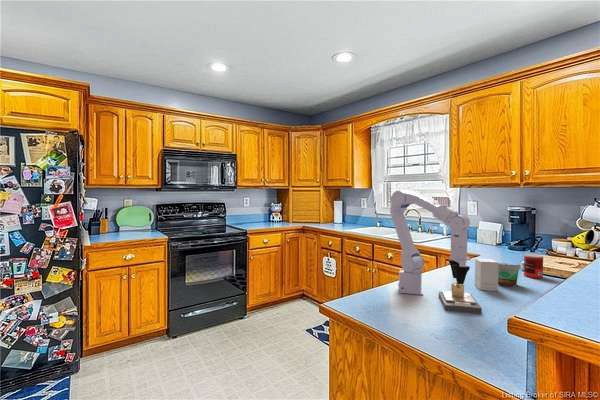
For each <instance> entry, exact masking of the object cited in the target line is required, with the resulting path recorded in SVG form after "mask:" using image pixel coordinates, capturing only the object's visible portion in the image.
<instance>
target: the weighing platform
mask: <svg viewBox="0 0 600 400" xmlns="http://www.w3.org/2000/svg"><path fill="white" fill-rule="evenodd" d="M441 292H442V294H443V295H444V297H445V299H446V301H449V302H467V303H471V304H476V302H475V300H476V299H475V298H474V299H475V300H474V299H473V298H472V296H473V295H472V294H471V295H472V296H471V295H470V293H469V292H465V291H464V298H456V297H453V296H451V290H443V289H441Z"/></svg>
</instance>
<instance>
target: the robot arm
mask: <svg viewBox="0 0 600 400" xmlns="http://www.w3.org/2000/svg"><path fill="white" fill-rule="evenodd" d="M389 201H390V210H389V212H390V215H391V216H390V217H391V219H392V222H393V225H394V229H395V232H396V235H397V238H398V242H399V244H400V247H401V249H402V250H401V253H400V259H401V261H400V265H401V268H402V269H400V270H399V271H398V284H397V285H398V286H397V287H398V292H399V294H408V295H420V296H423V295H424V292H423V288H422V282H423V280H422V277H423V273H422V272H423V271H422V270H423V267H424V266H425V259H424V257H423V256H422V255H421V253H420V251H419V249H417V248H416V246H415V243H414V240H413V237H412V235H411V231H410V228H409V225H408V222H407V219H406V216H405V212H406V210H407V209H408V208H409V207H410V206H411V205H417V206H418V207H420V208H423V209H425V210H427V211H429V212H430V213H432V217H434V218H436V219H437V220H438V221H441V222H442V223H444V224H446V225H447V226H448V227H449V228H450V256H449V259H448V260H447V261H448V262H449V266H450V267H451V270H450V271H451V274H452V278H453V279H456V283H457V284H463V285H465V281H466V277H467V273H468V272H469V271H470V268H471V267H470V266H468V265H466V264H467V261H471V258H470V257H468V228H469V227H470V224H471V222H470V221H471V220H470V219H469V217H468V216H466V215H465V214H463V213H461V214H459V211H454V210H452V209H450V208H448V205H446V204H438V205H436V204H435V203H433V202H431V201H429V200H428V199H426V198H424V197H423V196H421V195H419V194H418V193H416V192H413V191H411V190H409V189H408V190H395V191H394V192H393V193H392V194H391V196H390V197H389Z"/></svg>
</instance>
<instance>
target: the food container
mask: <svg viewBox="0 0 600 400" xmlns="http://www.w3.org/2000/svg"><path fill="white" fill-rule="evenodd" d="M521 269H522V268H521V264H520V263H518V264H510V263H506V262H502V263H499V268H498V286H502V287H508V288H509V287H510V288H511V287H516V286H517V283H518V279H519V278H518V277H519V271H520V270H521Z"/></svg>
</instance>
